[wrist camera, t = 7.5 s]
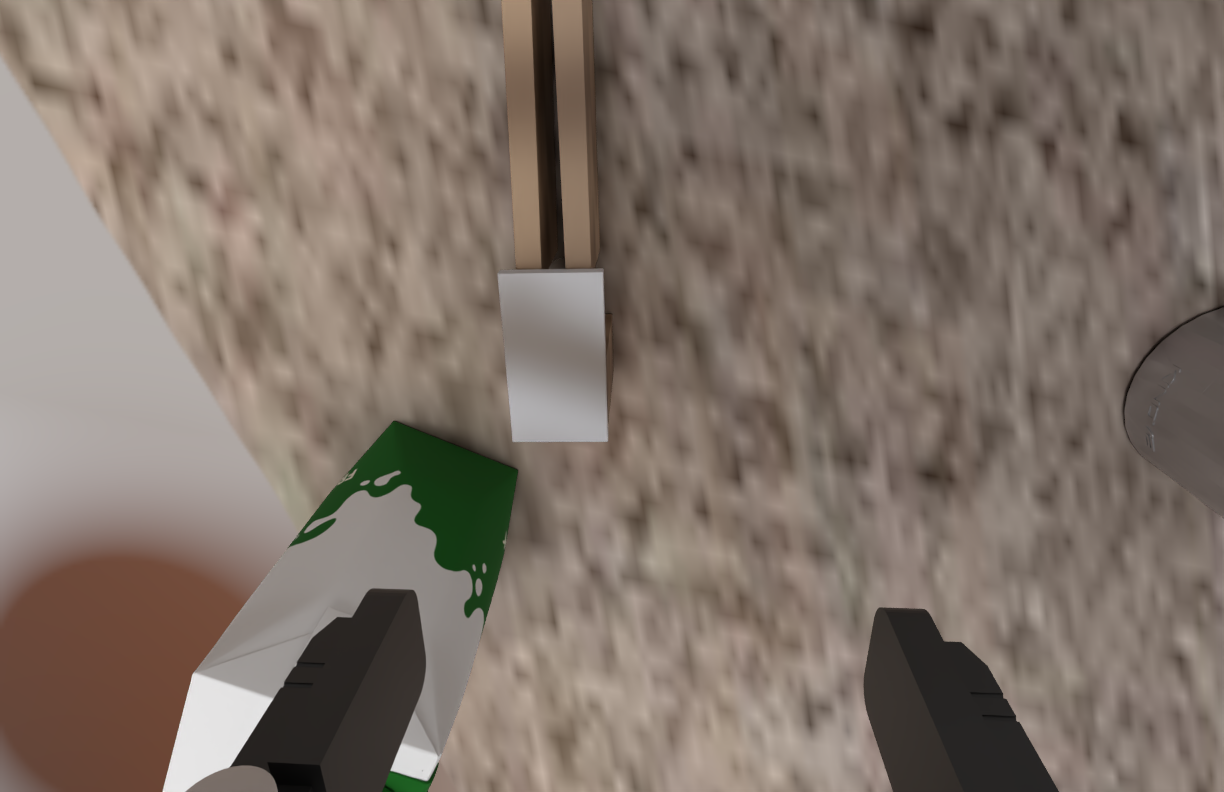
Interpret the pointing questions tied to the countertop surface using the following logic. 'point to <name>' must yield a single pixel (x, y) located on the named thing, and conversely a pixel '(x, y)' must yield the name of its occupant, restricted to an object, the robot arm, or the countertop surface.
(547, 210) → the tong arm
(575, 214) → the tong frame
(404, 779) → the milk carton
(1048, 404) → the countertop surface
